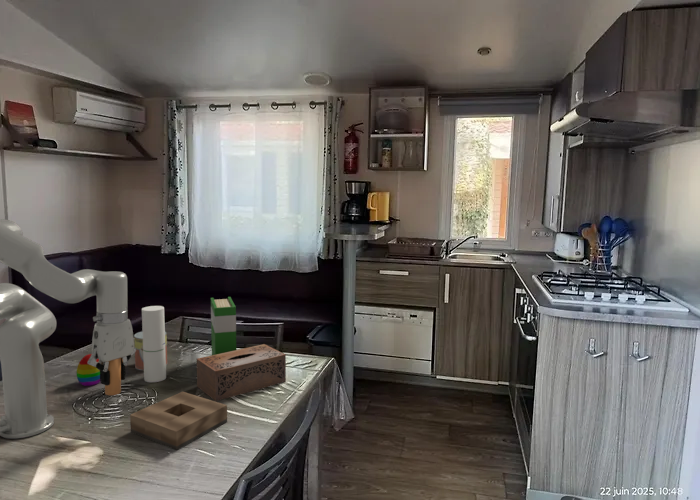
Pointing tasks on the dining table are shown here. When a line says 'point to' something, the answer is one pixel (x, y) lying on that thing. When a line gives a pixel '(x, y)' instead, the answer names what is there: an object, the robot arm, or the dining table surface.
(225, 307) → the hardback book
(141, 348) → the canned food
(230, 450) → the dining table surface
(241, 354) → the tissue box cover
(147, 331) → the cylindrical container
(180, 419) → the block
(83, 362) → the decorative egg
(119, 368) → the pin
